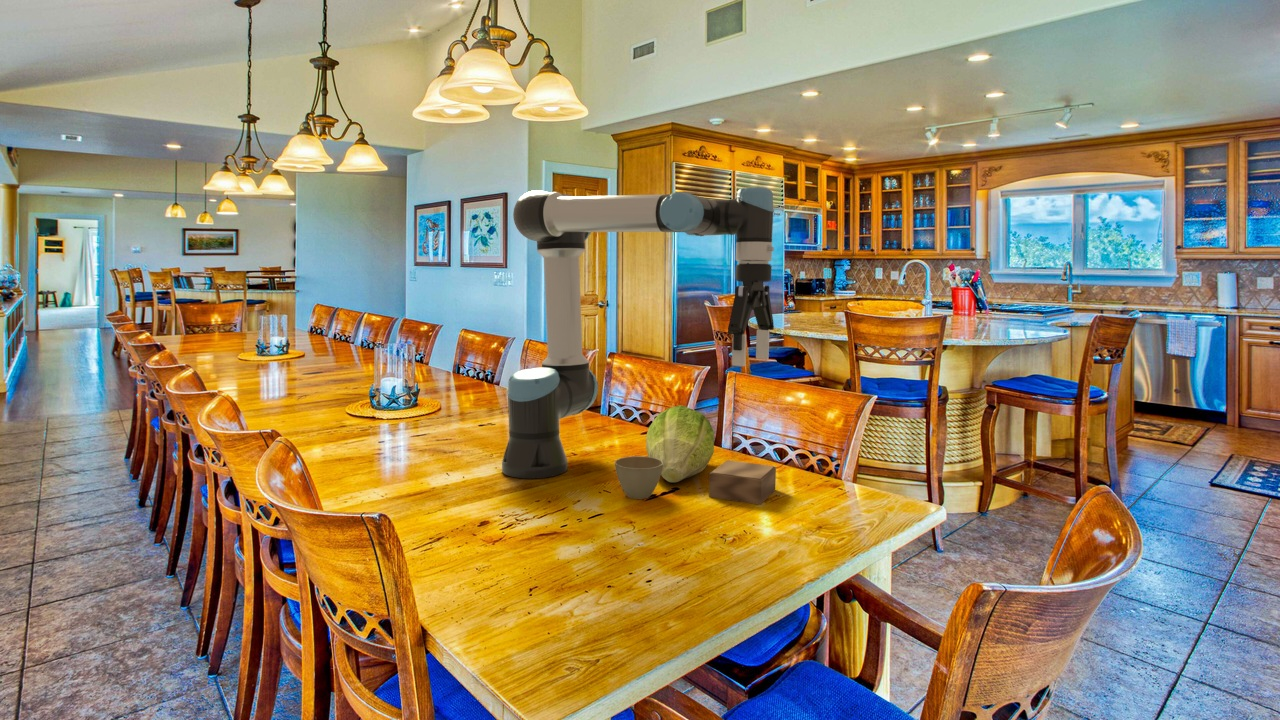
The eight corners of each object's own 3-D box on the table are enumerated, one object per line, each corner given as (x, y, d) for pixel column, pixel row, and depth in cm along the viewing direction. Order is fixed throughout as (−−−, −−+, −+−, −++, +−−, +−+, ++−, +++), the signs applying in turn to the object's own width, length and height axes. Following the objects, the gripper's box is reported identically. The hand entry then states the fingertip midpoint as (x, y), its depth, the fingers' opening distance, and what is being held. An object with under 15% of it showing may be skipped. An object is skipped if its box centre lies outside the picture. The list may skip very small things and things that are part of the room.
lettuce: (710, 509, 151) (640, 512, 156) (720, 445, 173) (658, 449, 177) (699, 453, 145) (627, 457, 149) (710, 394, 166) (647, 399, 170)
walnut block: (709, 496, 145) (709, 472, 144) (726, 482, 154) (726, 459, 154) (760, 504, 140) (761, 479, 139) (775, 489, 150) (775, 465, 149)
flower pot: (658, 504, 140) (658, 470, 139) (609, 501, 142) (609, 467, 141) (666, 489, 149) (666, 457, 148) (620, 486, 151) (620, 454, 150)
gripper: (748, 262, 135) (745, 370, 138) (789, 263, 157) (786, 357, 159) (712, 262, 139) (710, 367, 142) (758, 263, 161) (755, 355, 163)
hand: (750, 362), depth 151 cm, fingers open, 13 cm apart
